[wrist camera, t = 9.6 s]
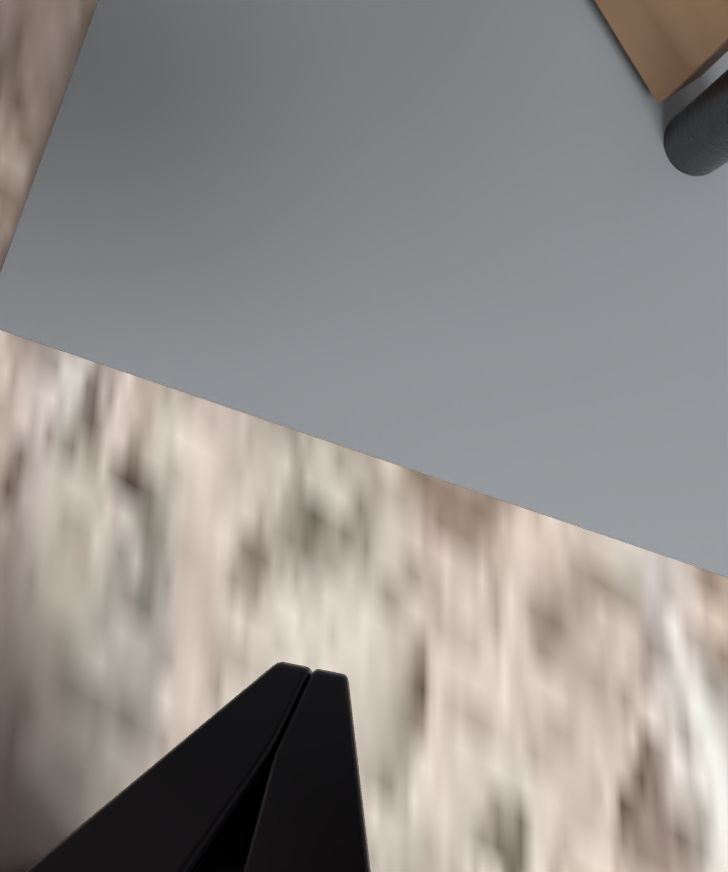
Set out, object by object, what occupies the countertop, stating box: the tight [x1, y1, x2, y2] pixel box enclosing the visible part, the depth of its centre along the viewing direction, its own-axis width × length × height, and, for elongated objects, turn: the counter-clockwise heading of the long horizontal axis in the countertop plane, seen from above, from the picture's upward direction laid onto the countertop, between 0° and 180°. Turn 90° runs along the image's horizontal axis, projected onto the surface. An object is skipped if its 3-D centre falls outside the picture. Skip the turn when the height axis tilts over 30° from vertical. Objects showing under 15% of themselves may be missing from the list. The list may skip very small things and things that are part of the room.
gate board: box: [0, 0, 728, 577], centre depth 20 cm, size 26×18×1 cm
